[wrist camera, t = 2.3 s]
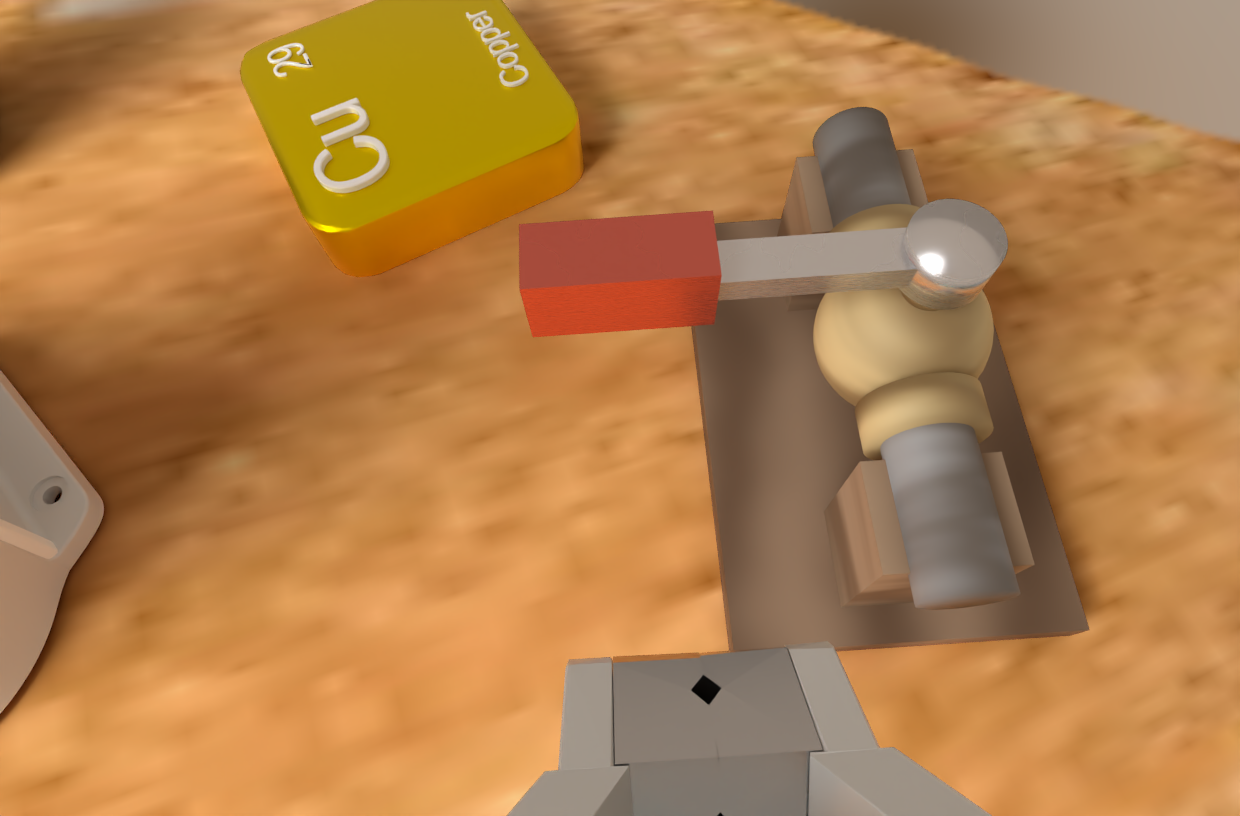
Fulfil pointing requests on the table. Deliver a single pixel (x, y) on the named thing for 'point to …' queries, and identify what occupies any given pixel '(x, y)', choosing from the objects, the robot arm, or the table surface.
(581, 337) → the table surface
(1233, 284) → the table surface
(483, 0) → the element tile
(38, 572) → the robot arm
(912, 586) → the valve stand
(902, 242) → the valve lever
